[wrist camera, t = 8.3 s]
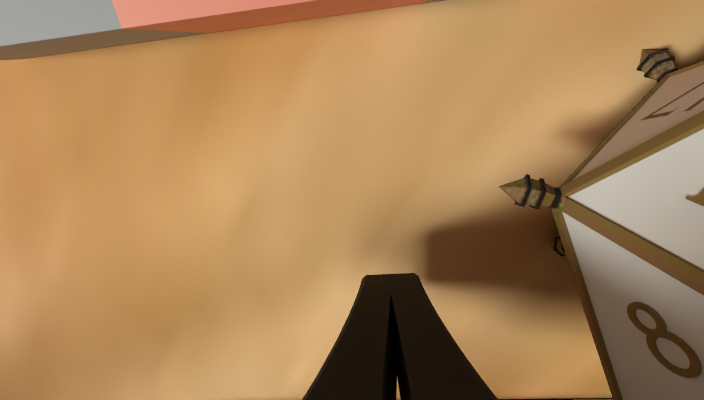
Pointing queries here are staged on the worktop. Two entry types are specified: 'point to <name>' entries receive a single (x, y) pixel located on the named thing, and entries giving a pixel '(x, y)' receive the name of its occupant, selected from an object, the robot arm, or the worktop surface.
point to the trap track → (150, 21)
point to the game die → (640, 237)
